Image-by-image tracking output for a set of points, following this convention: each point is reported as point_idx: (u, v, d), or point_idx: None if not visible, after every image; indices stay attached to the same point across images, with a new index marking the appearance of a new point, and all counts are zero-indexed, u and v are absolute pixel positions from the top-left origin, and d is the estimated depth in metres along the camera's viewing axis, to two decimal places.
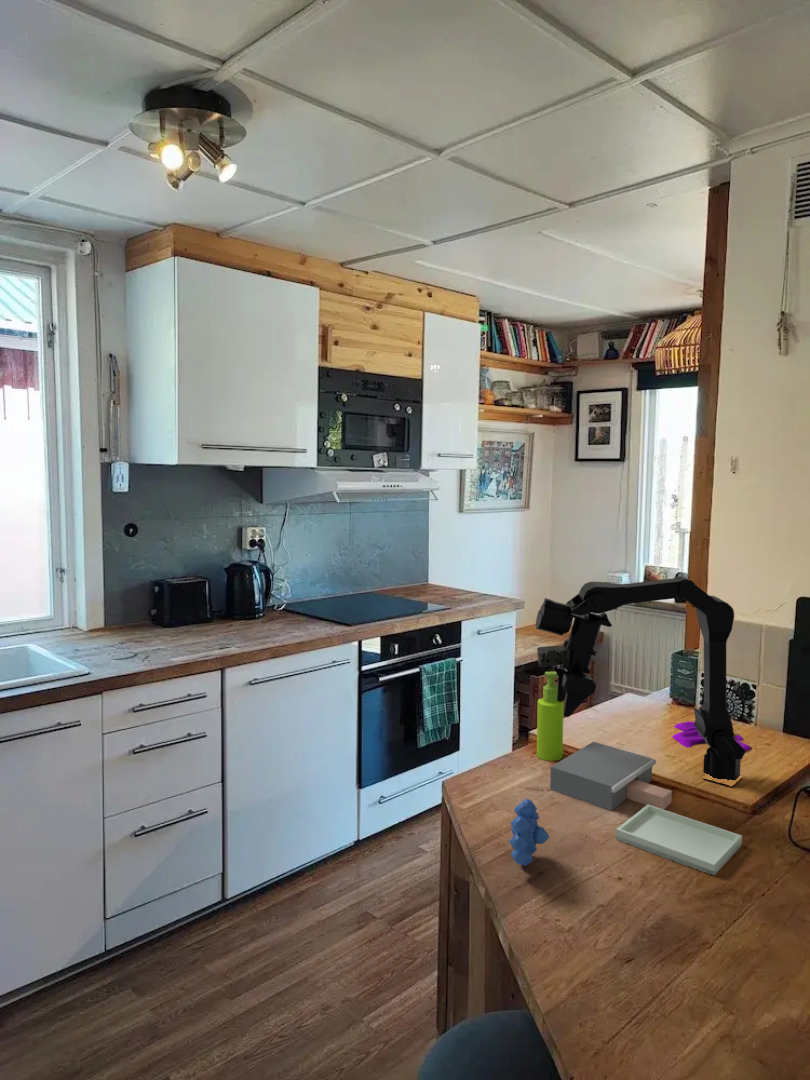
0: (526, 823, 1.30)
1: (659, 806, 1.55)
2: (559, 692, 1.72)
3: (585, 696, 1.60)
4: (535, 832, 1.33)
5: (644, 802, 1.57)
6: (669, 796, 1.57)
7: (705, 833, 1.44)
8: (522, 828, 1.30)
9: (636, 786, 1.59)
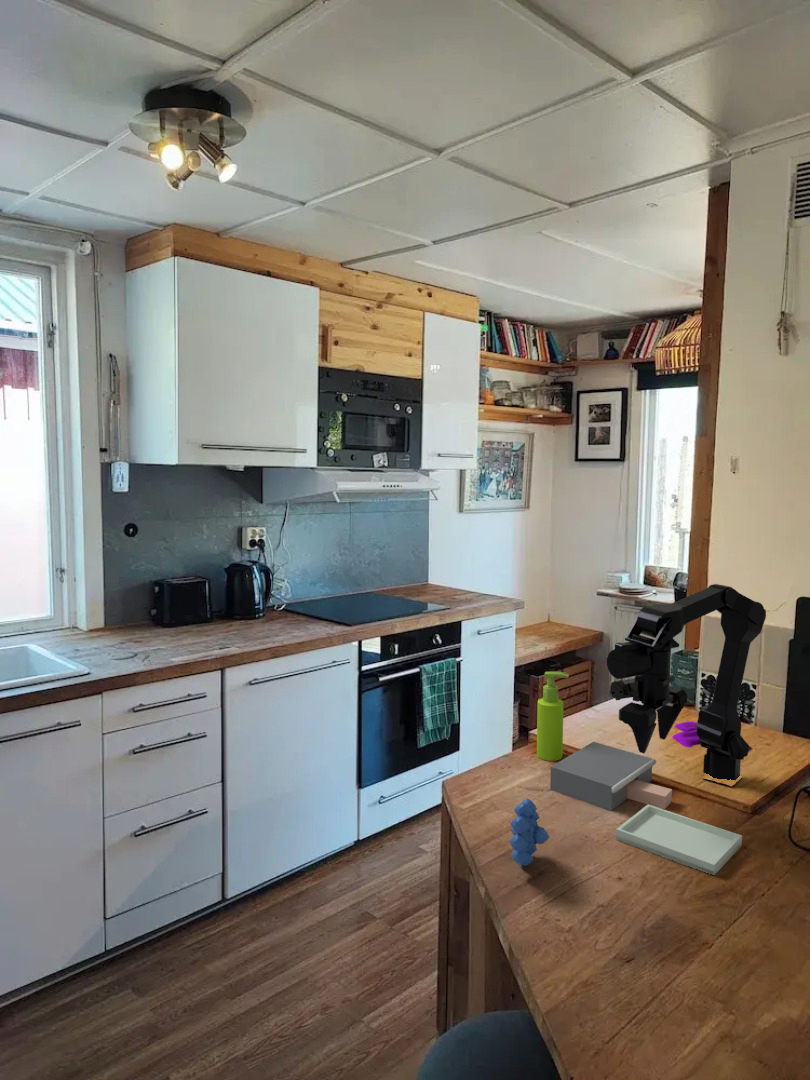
0: (526, 823, 1.30)
1: (661, 805, 1.55)
2: (659, 728, 1.60)
3: (649, 730, 1.50)
4: (535, 832, 1.33)
5: (645, 802, 1.57)
6: (670, 795, 1.57)
7: (705, 833, 1.44)
8: (522, 828, 1.30)
9: (637, 786, 1.59)
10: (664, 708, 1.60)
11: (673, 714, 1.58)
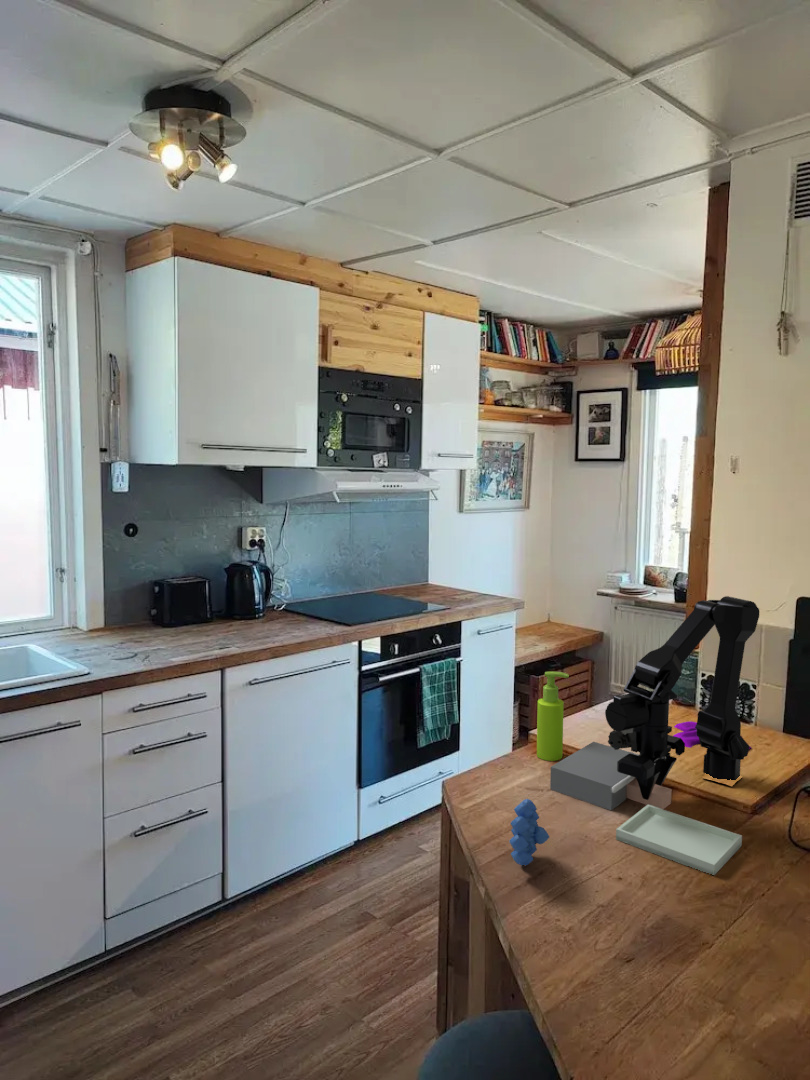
0: (526, 823, 1.30)
1: (658, 804, 1.55)
2: None
3: (652, 778, 1.53)
4: (535, 832, 1.33)
5: (643, 800, 1.57)
6: (669, 795, 1.57)
7: (705, 833, 1.44)
8: (522, 828, 1.30)
9: (636, 785, 1.59)
10: (657, 761, 1.59)
11: (666, 768, 1.58)
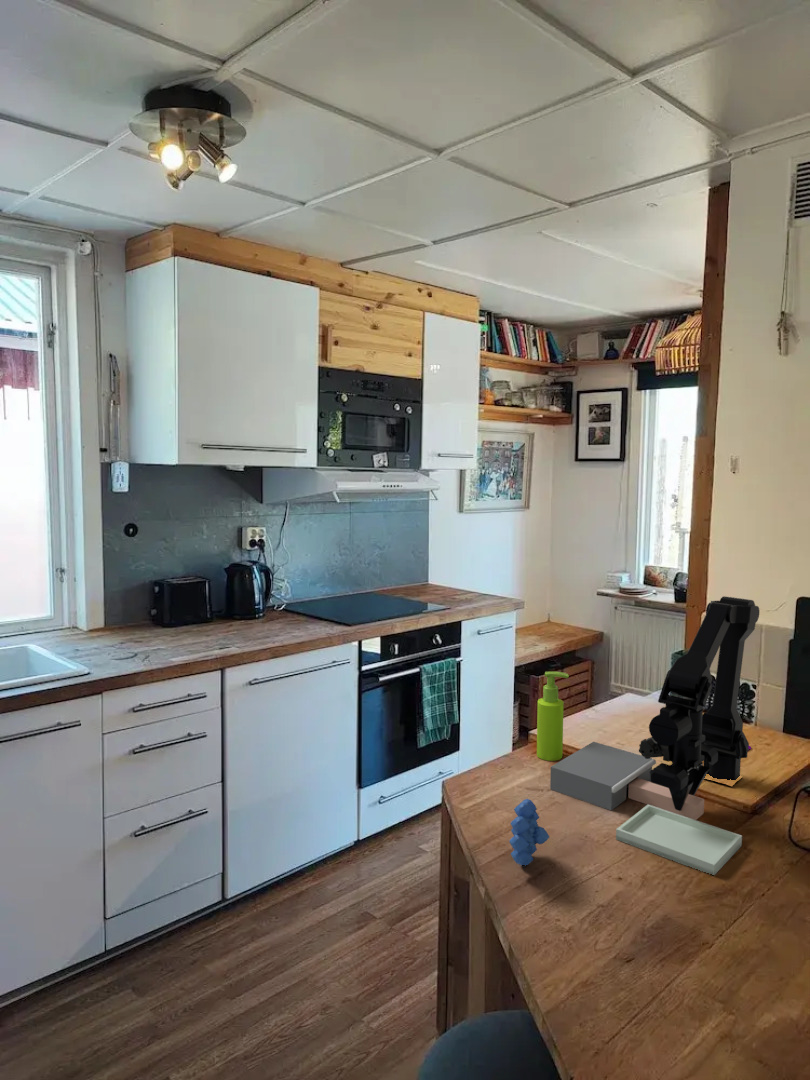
0: (526, 823, 1.30)
1: (691, 815, 1.51)
2: None
3: (686, 788, 1.49)
4: (535, 832, 1.33)
5: (676, 810, 1.53)
6: (701, 804, 1.52)
7: (705, 833, 1.44)
8: (522, 828, 1.30)
9: (667, 794, 1.55)
10: (689, 771, 1.55)
11: (699, 777, 1.54)
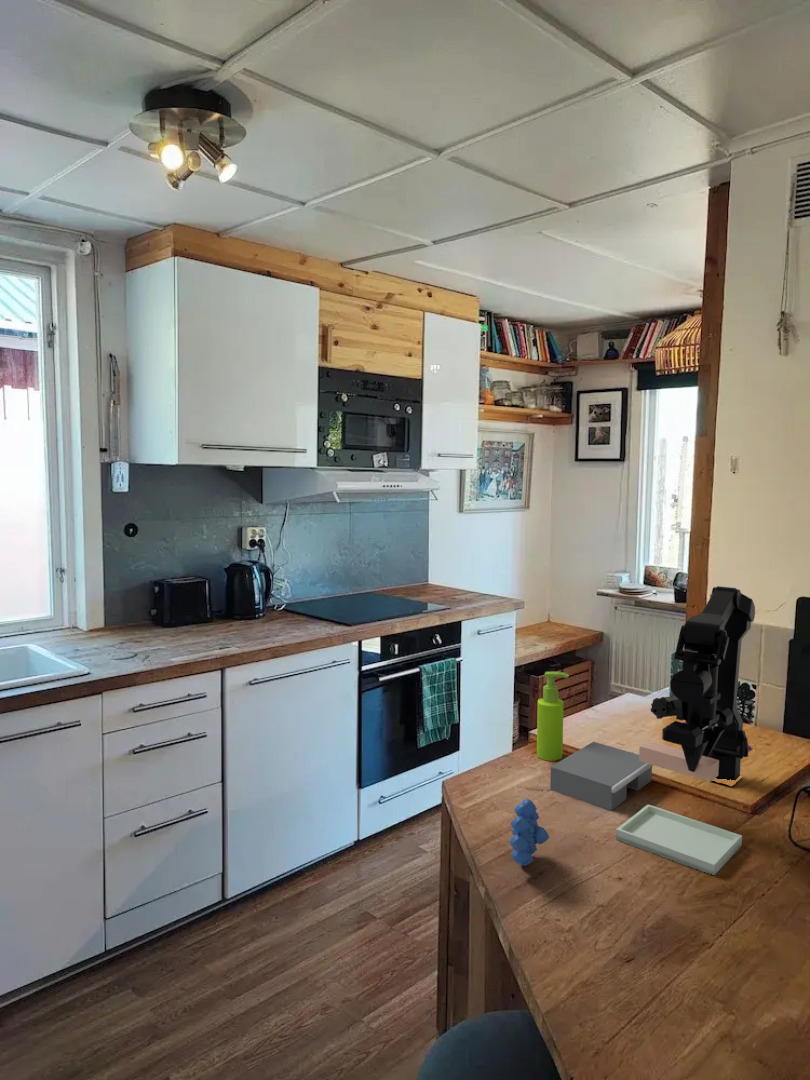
0: (526, 823, 1.30)
1: (706, 776, 1.44)
2: None
3: (700, 747, 1.42)
4: (535, 832, 1.33)
5: (689, 772, 1.46)
6: (716, 766, 1.46)
7: (705, 833, 1.44)
8: (522, 828, 1.30)
9: (680, 756, 1.48)
10: (703, 731, 1.48)
11: (714, 738, 1.47)
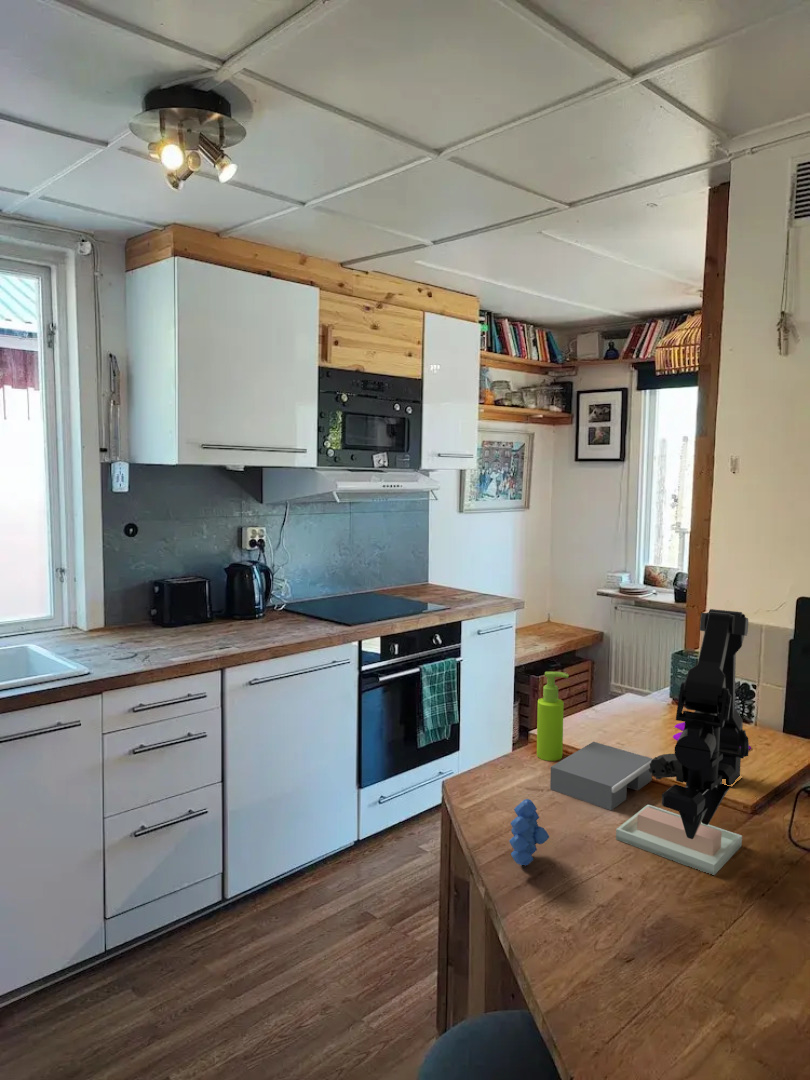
0: (526, 823, 1.30)
1: (708, 850, 1.37)
2: None
3: (699, 815, 1.33)
4: (535, 832, 1.33)
5: (690, 844, 1.39)
6: (719, 838, 1.38)
7: None
8: (522, 828, 1.30)
9: (681, 826, 1.41)
10: (707, 790, 1.42)
11: (718, 797, 1.40)
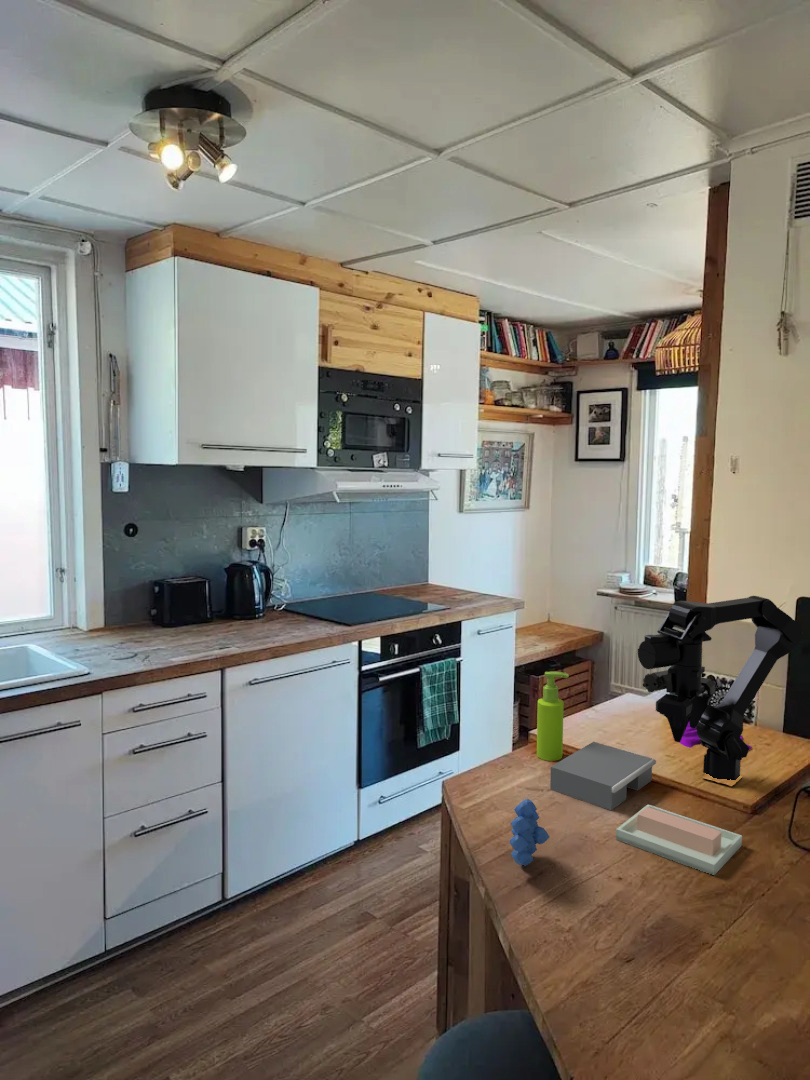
0: (526, 823, 1.30)
1: (708, 850, 1.37)
2: (690, 718, 1.67)
3: (685, 720, 1.56)
4: (535, 832, 1.33)
5: (690, 844, 1.39)
6: (719, 838, 1.38)
7: None
8: (522, 828, 1.30)
9: (681, 826, 1.41)
10: (694, 698, 1.66)
11: (703, 704, 1.65)
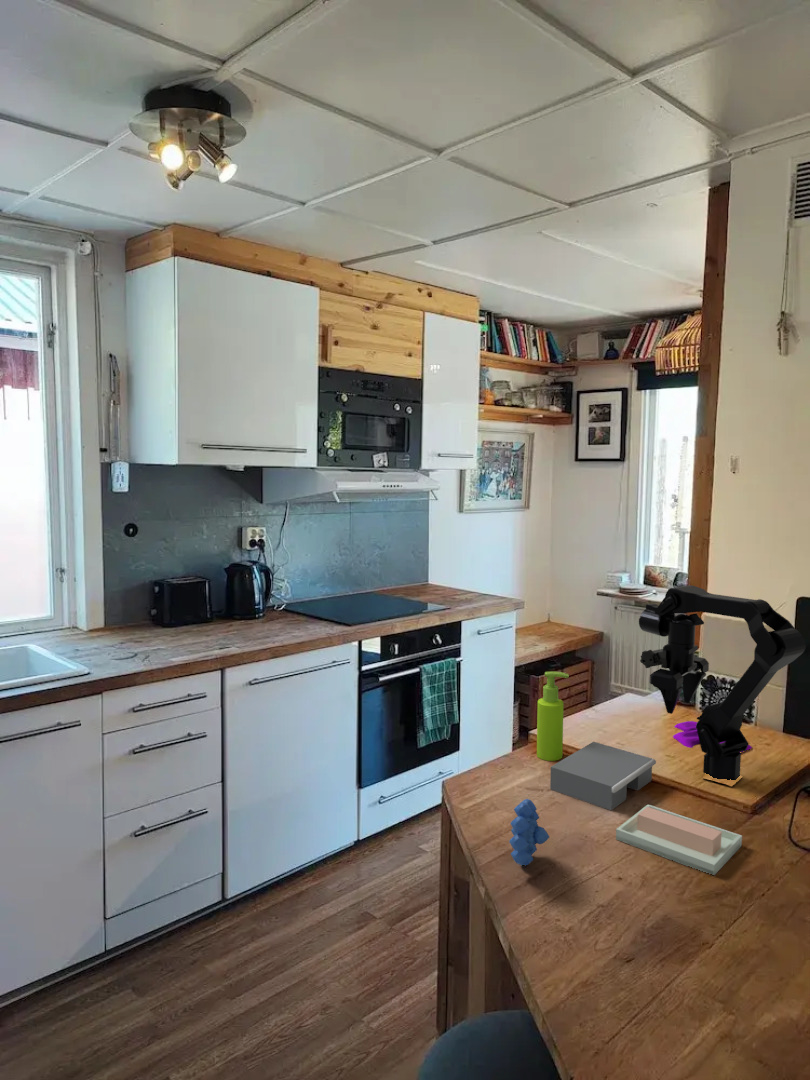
0: (526, 823, 1.30)
1: (708, 850, 1.37)
2: (684, 693, 1.81)
3: (676, 692, 1.71)
4: (535, 832, 1.33)
5: (690, 844, 1.39)
6: (719, 838, 1.38)
7: None
8: (522, 828, 1.30)
9: (681, 826, 1.41)
10: (688, 676, 1.81)
11: (697, 680, 1.79)
